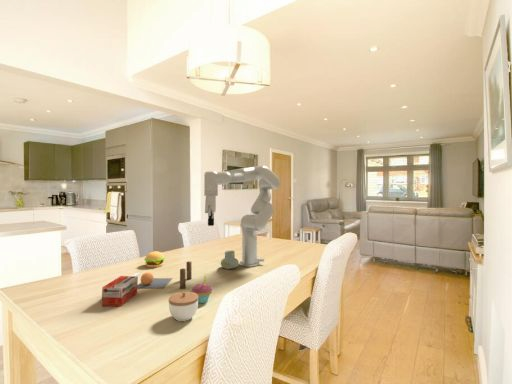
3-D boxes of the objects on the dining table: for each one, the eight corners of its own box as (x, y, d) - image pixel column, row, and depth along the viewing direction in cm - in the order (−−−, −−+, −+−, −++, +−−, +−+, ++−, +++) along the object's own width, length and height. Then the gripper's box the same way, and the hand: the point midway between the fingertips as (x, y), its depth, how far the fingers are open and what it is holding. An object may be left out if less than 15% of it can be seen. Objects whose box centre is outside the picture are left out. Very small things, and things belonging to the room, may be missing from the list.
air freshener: (240, 267, 166) (240, 251, 166) (234, 271, 159) (234, 253, 159) (225, 265, 171) (225, 249, 171) (218, 268, 164) (218, 252, 163)
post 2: (191, 278, 145) (192, 261, 145) (190, 279, 143) (190, 262, 143) (187, 278, 145) (187, 261, 145) (185, 279, 143) (185, 262, 143)
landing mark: (172, 278, 144) (172, 278, 144) (163, 288, 130) (163, 287, 130) (145, 278, 144) (145, 278, 144) (134, 288, 130) (134, 287, 130)
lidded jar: (172, 311, 106) (172, 287, 106) (200, 310, 107) (200, 287, 106) (165, 325, 95) (165, 298, 95) (196, 324, 96) (196, 297, 96)
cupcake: (215, 298, 118) (215, 271, 118) (205, 306, 110) (205, 277, 110) (198, 296, 121) (198, 269, 121) (187, 303, 113) (187, 274, 113)
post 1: (186, 286, 132) (186, 268, 132) (184, 288, 130) (184, 270, 130) (180, 286, 132) (180, 268, 132) (179, 288, 130) (179, 270, 130)
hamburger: (168, 263, 174) (168, 250, 174) (159, 268, 163) (159, 254, 162) (150, 262, 176) (150, 249, 176) (140, 268, 164) (140, 253, 164)
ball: (150, 285, 138) (157, 275, 138) (146, 289, 132) (153, 279, 132) (141, 278, 138) (148, 268, 138) (136, 282, 132) (143, 271, 132)
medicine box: (121, 307, 110) (121, 287, 110) (101, 307, 110) (101, 287, 110) (138, 293, 125) (138, 275, 125) (120, 292, 125) (120, 275, 125)
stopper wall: (139, 277, 146) (139, 272, 146) (124, 289, 128) (124, 284, 128) (135, 277, 146) (135, 272, 146) (119, 289, 128) (119, 284, 128)
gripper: (206, 193, 162) (206, 223, 162) (202, 193, 147) (201, 227, 147) (219, 193, 162) (219, 223, 162) (215, 193, 147) (215, 227, 147)
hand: (210, 225), depth 155 cm, fingers closed
